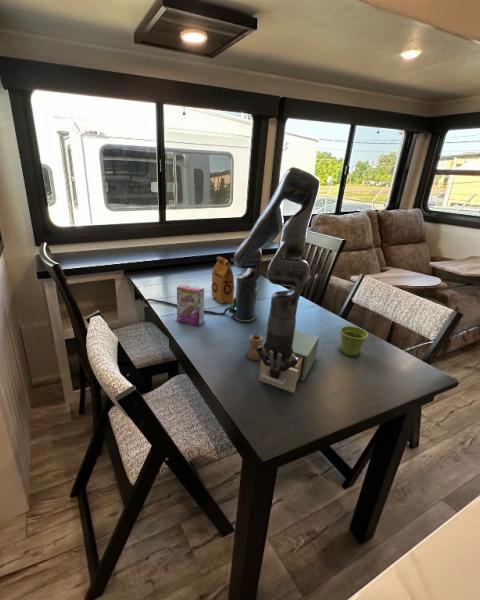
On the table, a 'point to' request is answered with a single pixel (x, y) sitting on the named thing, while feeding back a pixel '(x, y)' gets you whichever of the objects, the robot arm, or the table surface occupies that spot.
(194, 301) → the candy bar box
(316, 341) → the cabinet
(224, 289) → the coffee package
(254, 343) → the pepper mill
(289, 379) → the drawer
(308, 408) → the table surface
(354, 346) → the plant pot
